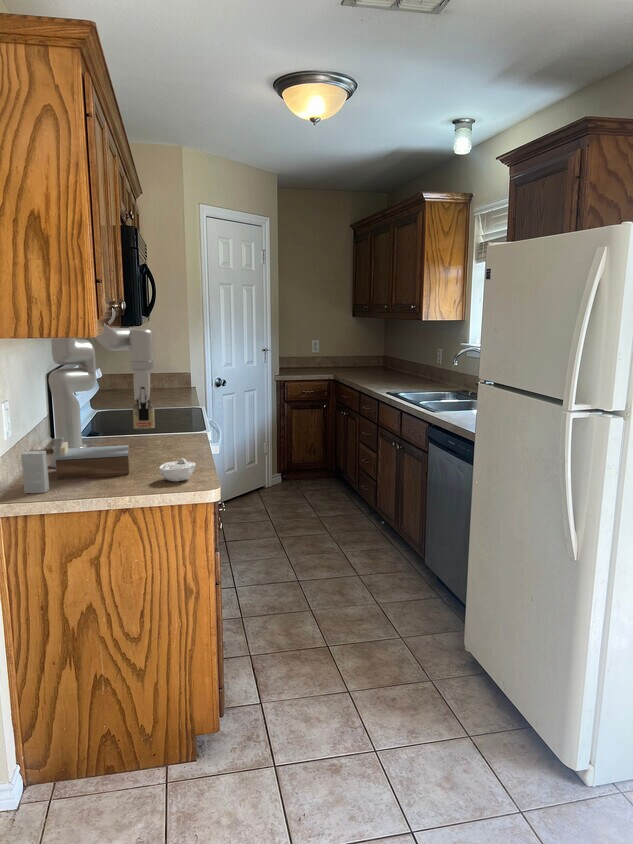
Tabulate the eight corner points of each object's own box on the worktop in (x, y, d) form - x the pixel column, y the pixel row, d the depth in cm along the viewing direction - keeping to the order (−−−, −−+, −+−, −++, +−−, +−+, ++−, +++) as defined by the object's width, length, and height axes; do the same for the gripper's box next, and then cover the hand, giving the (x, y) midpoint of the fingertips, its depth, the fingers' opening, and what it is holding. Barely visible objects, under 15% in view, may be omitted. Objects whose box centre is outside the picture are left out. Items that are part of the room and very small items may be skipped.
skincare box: (49, 489, 186) (46, 450, 184) (45, 493, 182) (42, 453, 180) (28, 490, 186) (25, 451, 184) (23, 494, 181) (20, 454, 179)
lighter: (133, 429, 211) (132, 400, 209) (133, 427, 215) (132, 399, 213) (154, 428, 213) (153, 400, 211) (154, 427, 216) (153, 398, 215)
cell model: (152, 481, 196) (151, 460, 194) (183, 474, 205) (182, 454, 204) (172, 487, 189) (171, 465, 188) (202, 479, 198) (202, 458, 197)
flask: (65, 462, 221) (63, 435, 219) (75, 465, 216) (74, 437, 214) (45, 466, 215) (43, 438, 213) (56, 469, 211) (54, 440, 209)
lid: (60, 451, 209) (59, 441, 209) (128, 448, 215) (128, 438, 214) (55, 460, 197) (54, 449, 196) (128, 455, 203) (127, 445, 202)
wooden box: (61, 469, 210) (60, 452, 209) (129, 465, 216) (128, 448, 215) (57, 479, 198) (55, 461, 197) (129, 474, 204) (128, 456, 203)
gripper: (131, 364, 217) (133, 415, 220) (129, 368, 201) (131, 424, 204) (153, 363, 219) (155, 415, 222) (153, 367, 203) (155, 423, 206)
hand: (144, 418), depth 213 cm, fingers closed on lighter, 3 cm apart
